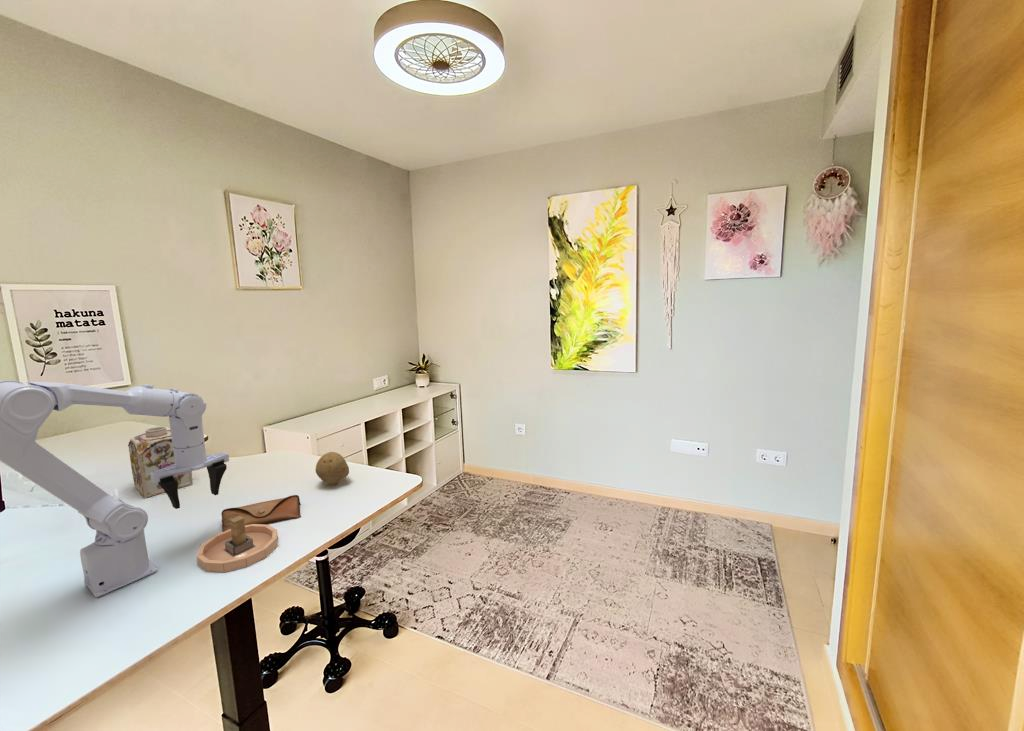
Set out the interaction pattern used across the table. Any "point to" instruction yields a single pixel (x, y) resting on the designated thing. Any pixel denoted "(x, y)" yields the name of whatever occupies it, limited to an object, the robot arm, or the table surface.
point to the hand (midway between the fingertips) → (196, 500)
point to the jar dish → (220, 561)
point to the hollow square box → (238, 547)
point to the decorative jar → (153, 460)
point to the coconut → (332, 468)
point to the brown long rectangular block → (238, 530)
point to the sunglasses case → (264, 512)
